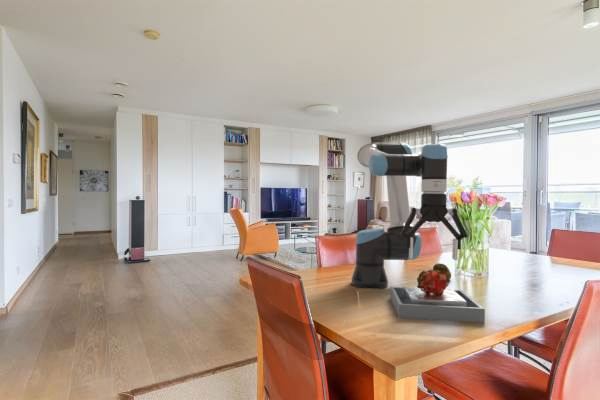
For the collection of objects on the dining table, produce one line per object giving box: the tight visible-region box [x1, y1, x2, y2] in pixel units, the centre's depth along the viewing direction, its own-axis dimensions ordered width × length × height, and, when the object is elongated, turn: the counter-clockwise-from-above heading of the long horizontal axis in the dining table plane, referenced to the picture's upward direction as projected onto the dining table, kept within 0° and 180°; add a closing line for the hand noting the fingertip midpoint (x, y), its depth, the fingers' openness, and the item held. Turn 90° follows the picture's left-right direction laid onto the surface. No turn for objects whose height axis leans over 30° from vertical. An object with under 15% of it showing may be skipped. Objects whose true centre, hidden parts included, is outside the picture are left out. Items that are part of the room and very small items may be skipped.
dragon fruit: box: [416, 269, 449, 295], centre depth 109 cm, size 8×8×12 cm
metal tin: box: [403, 286, 466, 307], centre depth 109 cm, size 16×14×5 cm
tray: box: [389, 286, 486, 324], centre depth 109 cm, size 24×20×5 cm
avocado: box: [432, 263, 452, 282], centre depth 151 cm, size 8×13×8 cm, turn 128°
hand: (432, 258), depth 109 cm, fingers open, 13 cm apart
